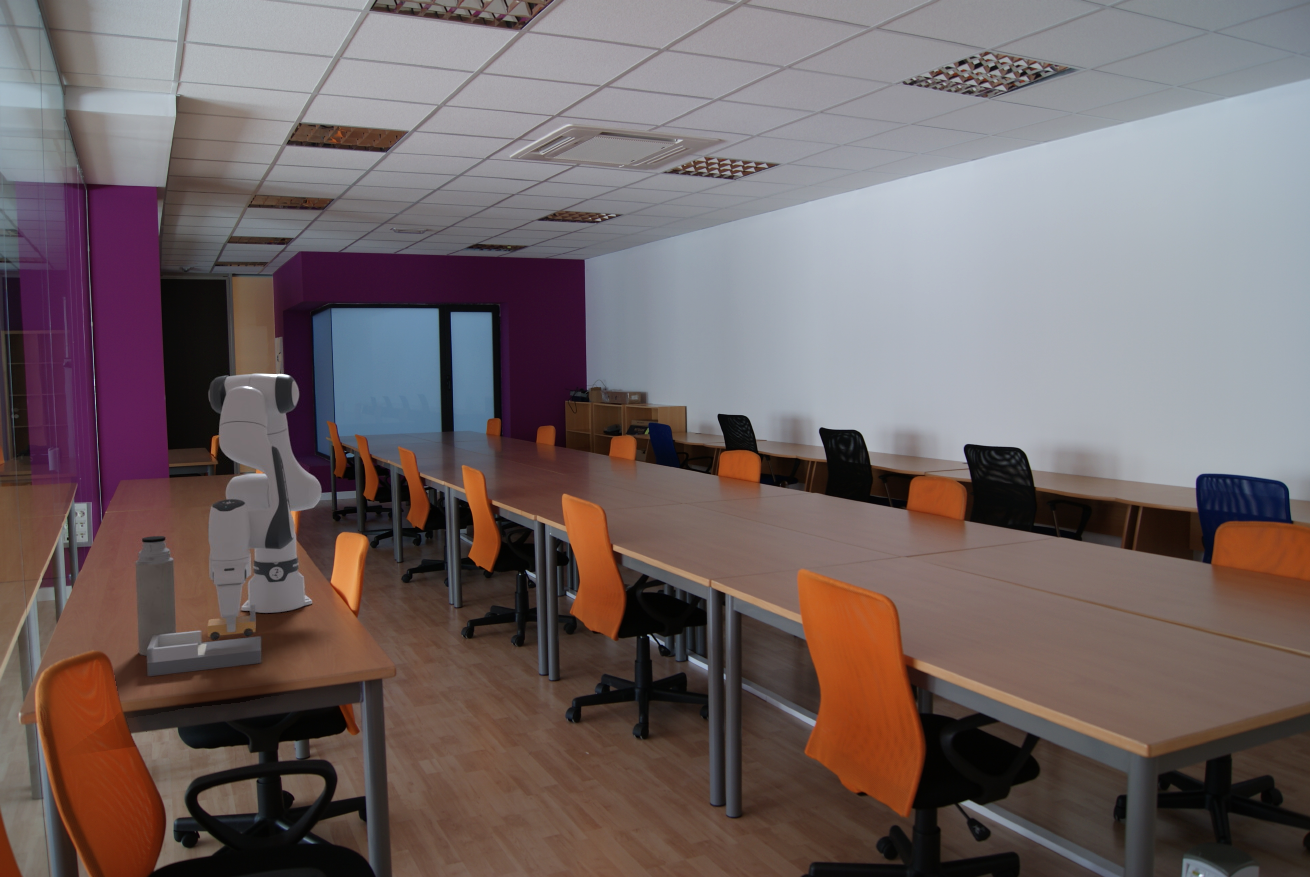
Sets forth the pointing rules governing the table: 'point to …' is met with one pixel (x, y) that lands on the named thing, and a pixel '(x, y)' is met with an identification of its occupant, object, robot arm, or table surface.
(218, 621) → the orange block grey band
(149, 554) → the thermos bottle
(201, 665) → the dock
